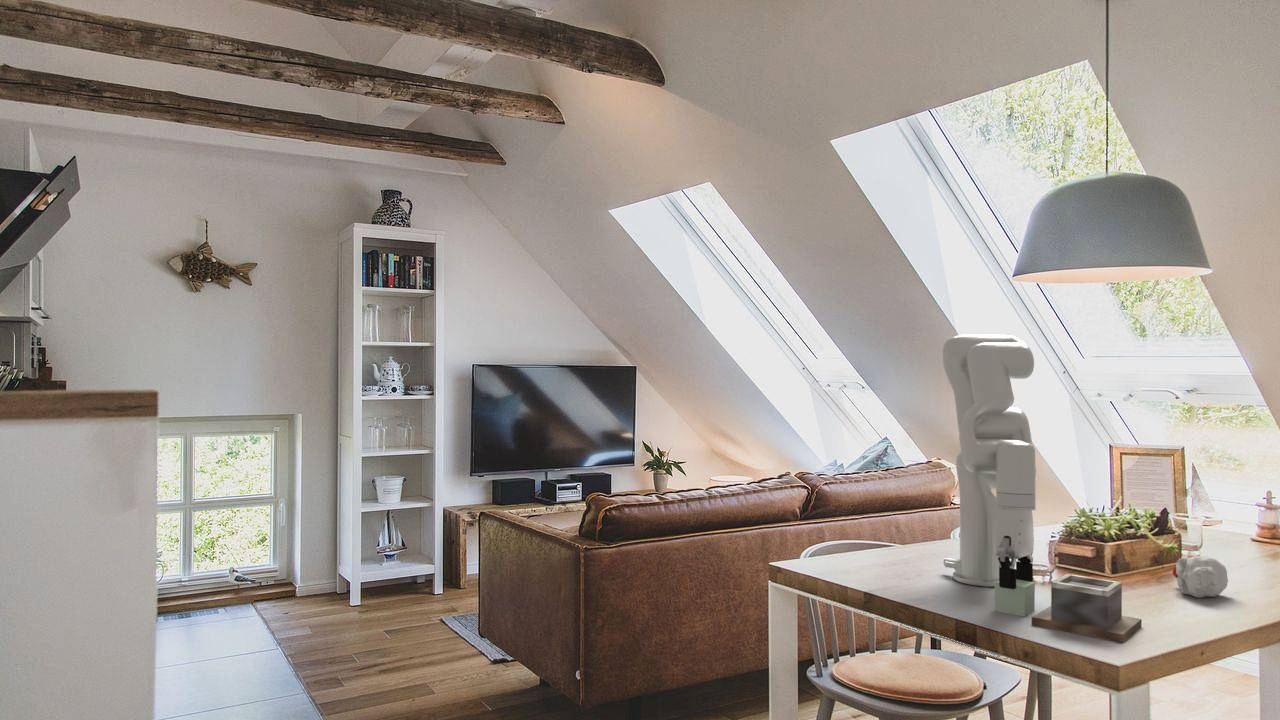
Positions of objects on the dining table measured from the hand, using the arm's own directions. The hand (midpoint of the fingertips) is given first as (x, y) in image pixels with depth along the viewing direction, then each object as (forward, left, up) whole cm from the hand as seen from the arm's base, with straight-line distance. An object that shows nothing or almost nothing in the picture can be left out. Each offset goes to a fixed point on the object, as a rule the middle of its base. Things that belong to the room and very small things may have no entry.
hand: (1016, 584), depth 177 cm
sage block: (-1, +1, -6) cm, 6 cm away
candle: (+24, +46, -6) cm, 52 cm away
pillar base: (+13, 0, -6) cm, 15 cm away
